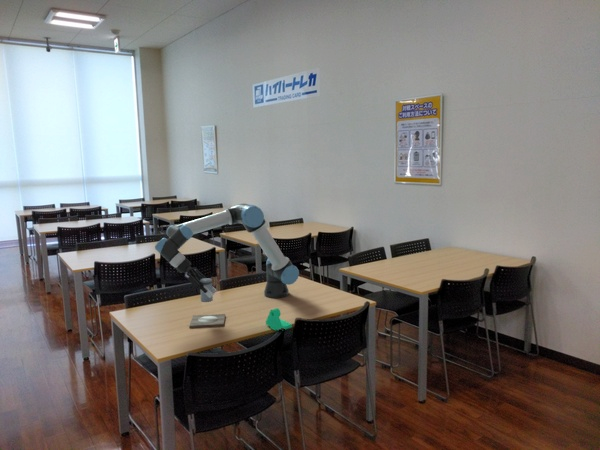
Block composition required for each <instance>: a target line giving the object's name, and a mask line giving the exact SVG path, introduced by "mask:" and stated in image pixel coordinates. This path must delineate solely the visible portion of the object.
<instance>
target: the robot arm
mask: <svg viewBox="0 0 600 450" xmlns="http://www.w3.org/2000/svg"><path fill="white" fill-rule="evenodd" d="M236 224H241V225H243V226H244V228H245V230H246V231H247V232H248V233H249V234H252V236H253V237H254V239H255V240H256V242H257V244H258V245H259V247H260V248H261V249H262V251H263V253H264V254H265V256H266V257H267V260H266V263H265V266H266V267H265V268H266V269H265V270H266V271H265V272H266V284H265V287H264V291H263V295H264V297H267V298H271V299H272V298H273V299H278V298H285V297H287V296H288V295H289V288H288V285H290V286H291V285H293V284H295V282H297V281H298V279H299V276H300V270H299V269H298V267H297V266H296V265H294V264H293V263H292V261H291V260H290V258H289V257H287V256H285V255H284V253H283V252H282V250H281V248H280V247H279V245H278V244H277V242H276V241H275V239H274V237H273V236H272V234H271V233H270V231H269V229H268V228H267V226H266V219H265V215H264V212H263V211H262V209H261V208H260V207H258V206H256V205H254V204H248V203H240V204H236V205H233V206H229V207H227V208H225V209H224V210H223V211H220V212H217V213H213V214H209V215H207V216H204V217H201V218H197V219H194V220H190V221H186V222H183V223H180V224H176V225H175V224H172V225H169V226H168V227H167V228H166V233H165V234H166V235H167V237H168V238H166V237H163V238H161V239H160V240H158V242H156V244H155V246H154V249H155V250H156V251H157V252H158V253H159V255H161V256H162V258H164V259H165V260H166V261H167V262H168V263H169V264H170V266H172V267H173V268H175V269H176V271H177V272H178V273H180V274H182V273H184V278H185V279H186V280H187V281H189V283H190V284H192V286H193V287H195V288H196V290H197V291H200V289H201V290H202V291H203V292H204V293H205V294H206V295H207V296H208V297H209V298H211V297H212V296H214V294H216V292H217V291H218V290H217V289H216V288H215V287H214V286H213V285H212V292H211V291H210V290H209V289H208V288H207V287H206V286H205V285H204V286H203V284H202V283H201V282H200V280H201V279H204V278H207V277H206V276H205V275H204V274H203V273H202V272H201V271H200V270H198V268H197V267H196V266H194V267H192V266H191V265H192V262H191V261H190V260H189V259H188V258H186V256H185V255H184V254H183V253H182V252H181V251H179V250H180V249H181V248H182V246H183V245H185V244H186V243H187V242H188V241H189V240H191V238H192V237H193V236H194V235H196V234H199V233H203V232H206V231H209V230H212V229H216V228H219V227H222V226H226V225H230V226H232V225H236Z"/></svg>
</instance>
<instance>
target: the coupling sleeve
mask: <svg viewBox="0 0 600 450" xmlns="http://www.w3.org/2000/svg"><path fill="white" fill-rule="evenodd" d="M200 282H201V283H202V284H203V286H204V285H205V286H206V287H207V288H208V289H209V290H210V291H211V292H212V286H213V278H207V277H206V278H204V279H201V280H200ZM199 292H200V302H201V303H210V302H213V299H214V298H213V296H214V295H213V296H212V297H211V298H209V297H208V296H207V295H206V294H205V293H204V292H203V291H202V290H201V289H200V290H199Z"/></svg>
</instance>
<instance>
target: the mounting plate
mask: <svg viewBox="0 0 600 450" xmlns="http://www.w3.org/2000/svg"><path fill="white" fill-rule="evenodd" d="M225 319H226V313H222V314H221V313H218V314H216V313H215V314H202V315H201V314H198V315H196V314H195V315H192V318H191V320H190V323H189V325H188V327H189V329H197V328H198V329H199V328H216V327H224V326H225V321H226V320H225Z"/></svg>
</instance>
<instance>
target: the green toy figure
mask: <svg viewBox="0 0 600 450" xmlns="http://www.w3.org/2000/svg"><path fill="white" fill-rule="evenodd" d="M281 314H282V313H281V310H280V309H279V308H278V307H277V308H273V309H270V311H269V313H268V315H267V318H266V321H265V325H267V326H268V327H270V329H272V330H274V331H279V329H281V328H284V329H285V330H288V329H291V328H292V327H293V326H292V325H293V324H292V323H291V322H288V321H286V320H284V319H282V318H281Z"/></svg>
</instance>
